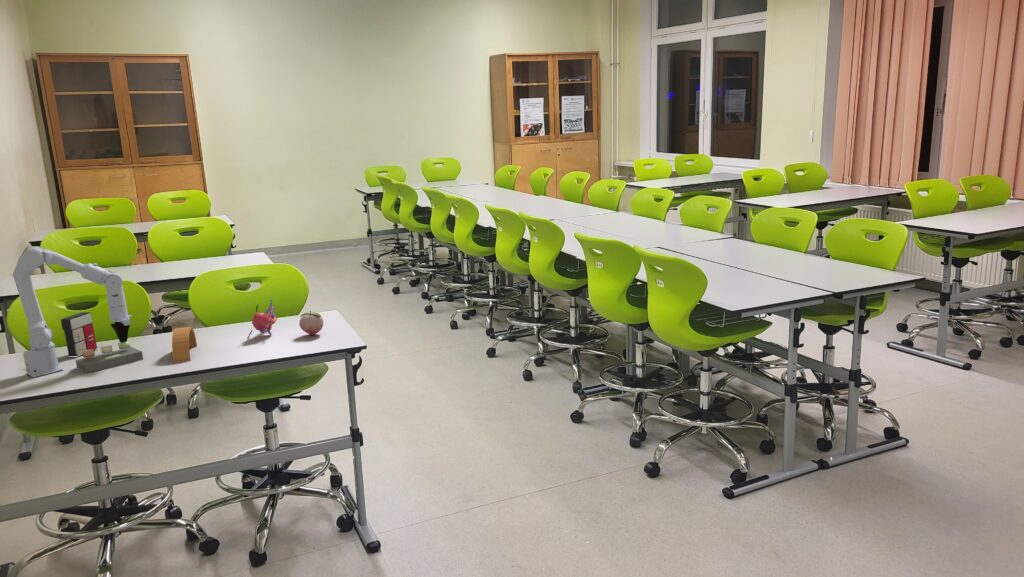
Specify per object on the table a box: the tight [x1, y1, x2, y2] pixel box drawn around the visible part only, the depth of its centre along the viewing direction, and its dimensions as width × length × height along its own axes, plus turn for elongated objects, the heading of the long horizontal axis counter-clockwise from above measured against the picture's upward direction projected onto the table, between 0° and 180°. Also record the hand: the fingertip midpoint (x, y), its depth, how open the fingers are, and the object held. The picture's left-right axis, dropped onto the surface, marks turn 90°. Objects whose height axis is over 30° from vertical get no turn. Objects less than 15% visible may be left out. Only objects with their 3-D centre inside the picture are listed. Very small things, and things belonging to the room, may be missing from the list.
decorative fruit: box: [299, 310, 324, 336], centre depth 290 cm, size 9×8×10 cm
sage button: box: [117, 340, 131, 350], centre depth 270 cm, size 4×4×2 cm
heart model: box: [247, 298, 278, 338], centre depth 293 cm, size 17×10×20 cm
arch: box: [171, 326, 198, 364], centre depth 272 cm, size 6×20×10 cm, turn 16°
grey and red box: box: [60, 311, 98, 357], centre depth 279 cm, size 11×4×15 cm, turn 168°
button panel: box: [75, 346, 144, 374], centre depth 266 cm, size 19×10×3 cm, turn 137°
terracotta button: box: [82, 349, 96, 358], centre depth 262 cm, size 4×4×2 cm
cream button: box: [100, 344, 114, 354], centre depth 266 cm, size 4×4×2 cm
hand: (123, 341), depth 270 cm, fingers closed
